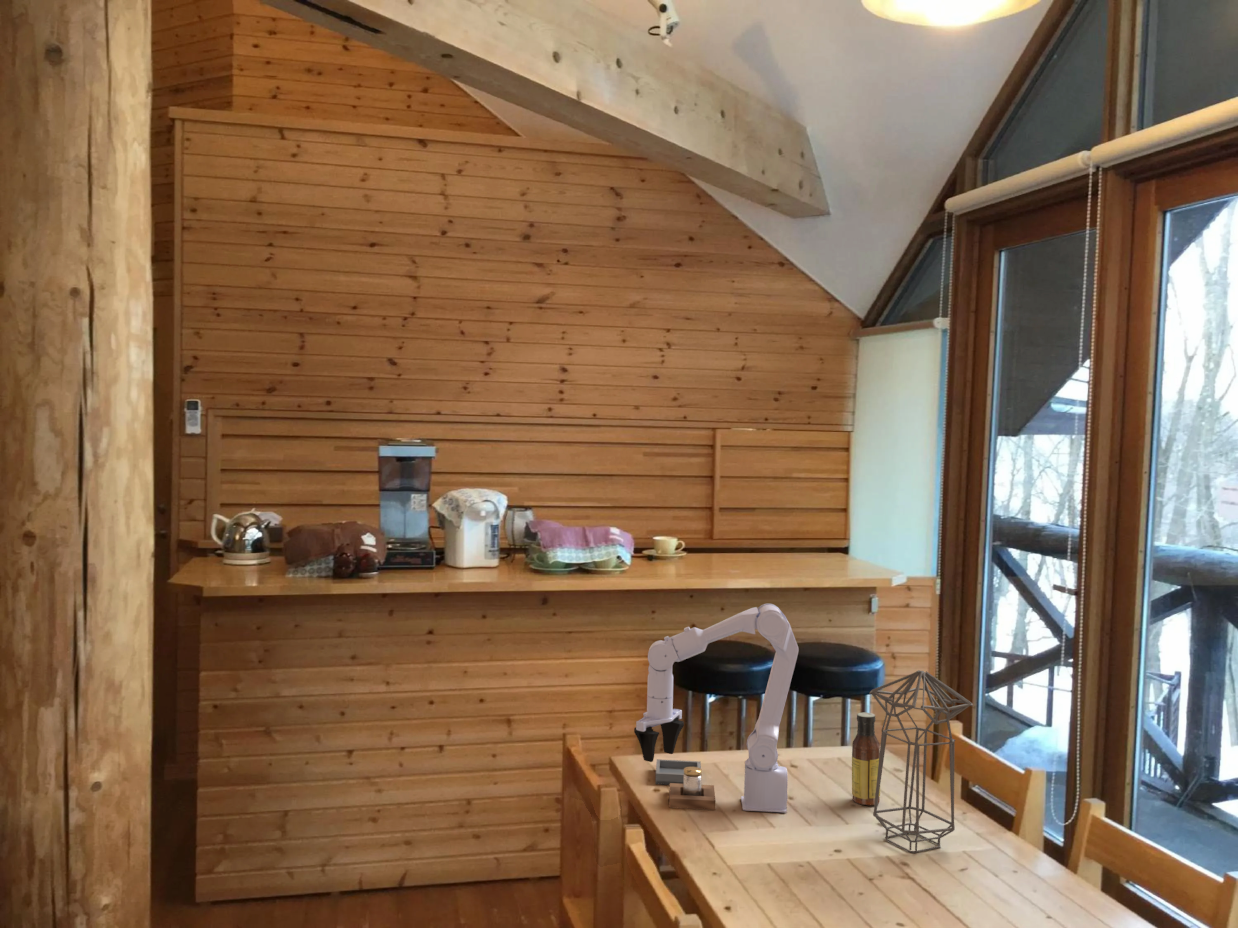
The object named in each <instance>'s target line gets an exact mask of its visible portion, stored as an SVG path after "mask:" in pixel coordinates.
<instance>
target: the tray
mask: <svg viewBox="0 0 1238 928" xmlns="http://www.w3.org/2000/svg"><path fill="white" fill-rule="evenodd" d="M701 764H702V763H701V761H697V760H696V761H695V760H681V759H680V760H678V759H657V758H656V765H655V767H656V768H655V785H662V786H663V785H667V786H668V785H669V786H670V783H678V784H683V781H684V768H686V767H698V768H701V769H702V765H701Z"/></svg>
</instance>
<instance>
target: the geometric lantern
mask: <svg viewBox="0 0 1238 928" xmlns="http://www.w3.org/2000/svg"><path fill="white" fill-rule="evenodd" d="M916 680H917V682H916V685H915V687H914V688H912V686H913V685H914V684H915V681H916ZM903 681H904V682H903ZM921 681H922V684H923V685H922V688H920V686H921ZM900 682H903V683H902V684H901V685H900V686H899V687H897V688H896V689H895V690H894V691H885V690H883V689H885V688H887V687H890V686H892V685H895V684H897V683H900ZM929 687H930V689H931V690H930V689H929ZM902 689H903V690H902ZM943 689H944V690H945V691H947V693H950V694H951V695H953V697H956V698H957V699H952V698H951V697H950V696H949V695H948V694H947V693H946V692H945V691H944V690H943ZM919 691H922V705H920V707H916V706H917V700H918V696H919ZM912 692H913V693H912ZM925 692H926V694H927V697H928V699H929V703H930V705H925ZM909 693H912V694H911V695H910V696H909V697H908V699H907V698H906V697H907V695H908V694H909ZM869 695H872V697H873V698H874V700H875V701H876V702H877V703H878V705H880V706H879V707H881V709H882V710H883V711H884V712H885V716H884V717H885V718H884V720H883V723H882V728H881V735H880V737H881V738H880V755H879V765H878V775H877V785H876V794H875V804H874V805H873V812H872V813H873V815H872V816H873V817H874V818H875V819H876V820H877V821H878V823H879V824H881V826H882V828H884V829H885V837H884V839H885V841H887V842H888V843H890V844H893V845H895V846H897V847H898V848H899V849H902V850H904V851H906V852H908V853H910V854H917V853H922V852H926V851H931V850H936V849H940V848H941V839H942V838H944V837H945V836H948V835H949V834H951V833H953V832H954V831H955V754H956V753H955V752H956V751H955V742H956V739H954V738H953V735H952V729H951V725H950V720H951V719H953V718H955V717H956V716H957V715H959V714H960V713H962V712H963V711H965V710H966V709H968V708H969V707H970V706H971V707H973V705H974V703H972V702H971V701H970V700H969V699H967V698H965V697H964V696H963V695H961V694H960V693H958V692H957V691H955V690H954V689H953V688H951V687H949V686H948V685H947V684H945V683H944V682H942V681H941V680H939V679H938V678H937V677H935V676H934V675H932V674H931V673H929V672H928V671H924V670H919V669H918V670H916V671H915V672H911V673H910V674H907V675H906V676H903V677H901V678H898V679H895V680H893V681H890V682H888V683H886V684H882V685H881V686H878V687H876V688H873V689H871V690H870V692H869ZM886 695H889V696H886ZM897 695H898V697H897V698H896V699H895V696H897ZM934 696H935V697H937V698H938V700H939V702H940V703H941V705H942V707H941V706H940V704H939V703H938V702H937V700H936V699H935V698H934ZM902 697H903V701H902V703H901V702H900V700H901V698H902ZM879 698H880V699H881V700H883V701H884V702H885V703H882V701H881V700H880V699H879ZM911 700H912V704H909V703H910V702H911ZM956 703H958V704H959V703H961V704H959V705H958V704H957V705H956ZM888 704H889V705H890V706H891V708H890V710H889V709H888ZM947 704H948V705H952V706H950V707H949V706H947ZM884 705H885V706H884ZM897 708H901V709H902V710H901V711H899V712H897V711H896V709H897ZM912 709H913V710H919V711H923V713H924V714H925V715H926V716H927V717H928V718H929V719H930V722H929V724H928V725H927V726H926V728H923V727H918V725H917V723H915V721H914V718H912V716H911V714H910V713H909V711H911V710H912ZM927 709H928V710H929V709H931V710H933V711H935V714H934V717H933V716H932V715H931V714H930V713H929V712H928V711H927ZM950 711H951V712H950ZM905 713H907V716H908V717H909V718H910V720H911V721H912V723H913V725H914V726H913V727H904V725H903V723H902V720H901V719H900V716H901V715H903V714H905ZM941 713H943V714H945V716H946V718H945V719H941V720H939V719H938V718H939V716H940V714H941ZM892 717H895V718H896V720H897V722H898V724H899V725H900V727H901V728H890V729H888V728H889V726H890V721H891V719H892ZM942 723H943V724H944V723H946V724H947V730H948V736H946V735H944V734H942V733H937V732H936V731H933V730H930V728H931V726H932V725H933V724H935V725H938V724H942ZM885 724H886V725H885ZM884 728H885V729H884ZM908 730H915V739H914V742H913V741H911V739H910V738H909V737H910V736H909V735H908V734H907V731H908ZM895 731H897V732H898V731H903V734H904V736H905V738H906V740H905V739H902V738H900V737H897V736H895V735H894V734H893V735H892V734H891V733H888V732H895ZM920 731H921V732H922V733H921V734H920V735H919V732H920ZM928 733H931V734H934V735H936V736H939V737H941V738H944V739H947V740H949V742H944V741H943V742H935V743H934V742H933V743H932V742H931V743H928V742H927V741H928ZM923 735H924V738H923V739H924V741H923V743H918V742H919V740H920V739H921V738H922V737H923ZM887 736H888V737H891V738H893V739H896V740H898V741H901V742H903V743H906V744H907V752H906V762H905V763H906V765H905V778H904V779H905V780H904V791H903V792H904V793H903V805H902V806H901V807H895V808H894V807H892V808H886V809H880V810H879V809H878V798H879V790H880V791H881V782H882V775H883V768H884V760H885V752H886V746H887V745H886V744H887ZM939 745H948V746H949V752H948V753H949V782H950V820H951V821H950V820H948V819H945V818H943V817H941V816H938V815H937V814H934V813H932V812H931V811H928V810H926V809H925V808H926V807H925V802H926V775H927V774H926V773H927V772H926V771H927V751H928V750H927V746H939ZM911 746H914V749H913V759H912V769H911V780H910V790H909V799H908V798H907V797H908V788H909V787H908V784H909V771H910V759H911V758H910V757H911ZM920 747H923V760H922V761H923V762H922V763H923V765H922V766H923V768H922V794H921V797H922V798H921V807H920ZM915 775H916V776H915ZM915 778H916V779H915ZM915 780H916V784H915ZM914 784H915V790H916V791H915V807H914V806H912V803H913V801H912V800H913V796H914V795H913V793H914ZM907 799H908V801H907ZM907 802H908V806H907ZM907 810H908V816H909V822H907V823H906V813H907ZM911 810H913V811H915V822H914V823H912V811H911ZM897 811H902V821H901V822H902V823H901V824H898V825H897V824H894V823H892V822H890V821H888V820H886V819H884V818H883V817H881V816H880V815H879V814H881V813H889V812H897ZM923 813H925V814H927V815H929V816H931V817H933V818H936V819H937V820H940V821H942V822H944V823H946V824H948V825H949V826H948V827H946V828H935V829H928V828H927V827H926V828H925V827H923V826H921V825H920V824H919V823H920V818H921V817H922V815H923ZM906 826H908V830H907V829H906V830H905V828H906ZM911 826H913V830H911ZM892 829H896V830H897V831H899V832H901V833H897V832H895V831H893V830H892ZM920 829H921V830H920ZM889 832H890V833H892V834H891V835H889ZM909 833H910V834H912V835H915V839H914V840H913V839H911V838H910V837H909V835H908V834H909ZM923 834H933V835H936V837H934V836H933V837H929V838H928V837H926V836H924V835H923ZM904 835H905V836H904ZM894 837H900V838H902V839H903V840H906V841H908V842H909V848H906V847H904V846H903V845H902V846H901V845H900V844H898V843H896V842H894V841H892V840H890V839H889V838H894ZM918 837H920V839H918ZM921 838H922V839H921ZM935 840H937V841H935ZM924 841H926V842H927V841H929V842H931V843H933V844H935V845H937V846H931V847H927V848H922V849H919V850H918V842H924ZM912 843H915V844H914V845H915V846H914V850H912Z"/></svg>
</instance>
